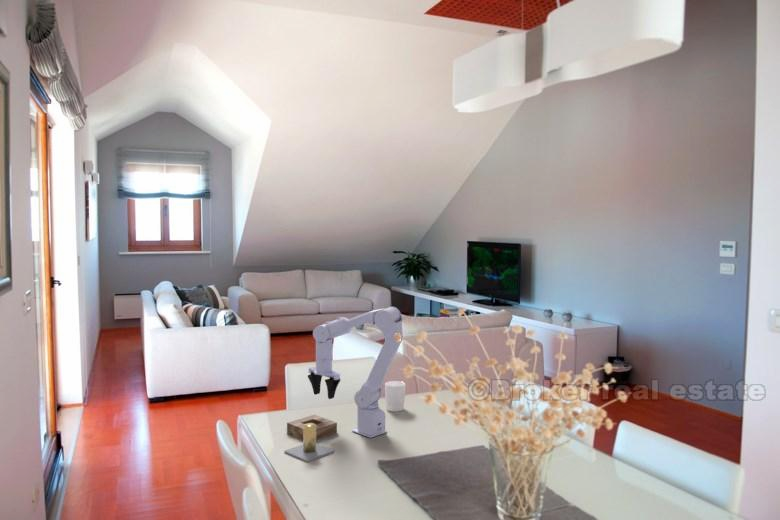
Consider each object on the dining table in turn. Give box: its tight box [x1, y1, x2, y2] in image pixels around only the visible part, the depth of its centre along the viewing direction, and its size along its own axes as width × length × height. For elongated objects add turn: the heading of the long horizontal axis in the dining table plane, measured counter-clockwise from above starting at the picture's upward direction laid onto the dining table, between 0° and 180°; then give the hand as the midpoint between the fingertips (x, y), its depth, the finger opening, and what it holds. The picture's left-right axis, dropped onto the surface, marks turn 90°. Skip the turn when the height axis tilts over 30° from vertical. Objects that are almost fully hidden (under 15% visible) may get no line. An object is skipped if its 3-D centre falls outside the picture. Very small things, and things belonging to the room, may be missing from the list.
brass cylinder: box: [302, 423, 317, 453], centre depth 189 cm, size 4×4×8 cm
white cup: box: [384, 380, 406, 413], centre depth 233 cm, size 8×8×10 cm
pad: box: [283, 442, 335, 463], centre depth 189 cm, size 11×11×1 cm
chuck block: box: [286, 414, 338, 440], centre depth 206 cm, size 12×12×4 cm
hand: (323, 396), depth 214 cm, fingers open, 7 cm apart
